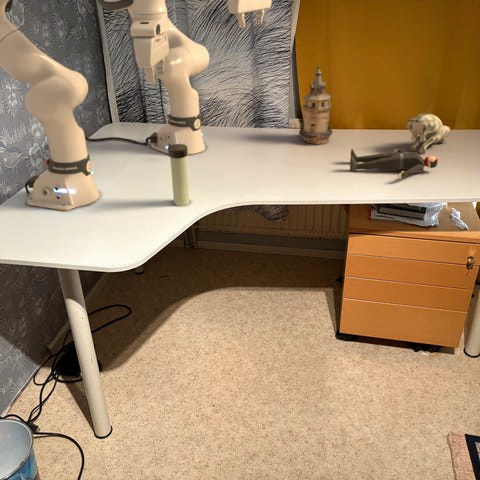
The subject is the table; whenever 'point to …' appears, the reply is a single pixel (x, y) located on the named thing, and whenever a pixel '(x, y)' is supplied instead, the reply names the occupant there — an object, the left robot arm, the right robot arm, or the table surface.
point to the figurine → (427, 131)
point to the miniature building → (316, 112)
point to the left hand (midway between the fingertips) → (156, 78)
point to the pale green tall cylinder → (180, 181)
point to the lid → (177, 151)
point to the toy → (393, 162)
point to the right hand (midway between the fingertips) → (250, 25)
